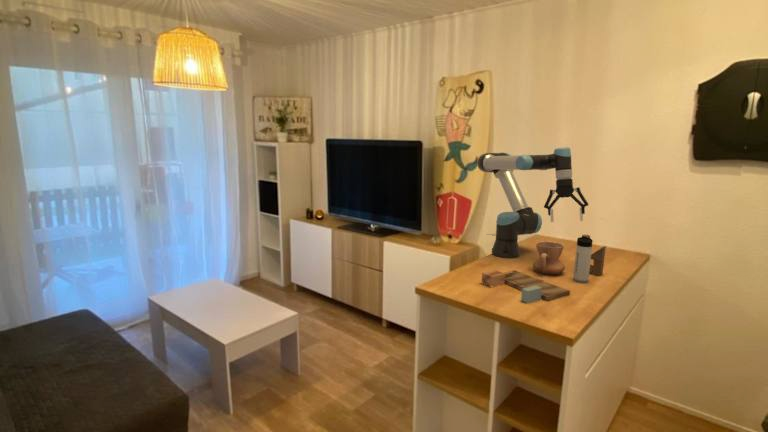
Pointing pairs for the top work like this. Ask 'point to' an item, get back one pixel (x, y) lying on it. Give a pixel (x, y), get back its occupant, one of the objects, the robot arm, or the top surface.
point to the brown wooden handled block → (495, 277)
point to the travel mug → (582, 259)
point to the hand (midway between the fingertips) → (566, 221)
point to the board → (526, 281)
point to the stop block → (531, 294)
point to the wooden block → (597, 260)
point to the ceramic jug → (549, 258)
